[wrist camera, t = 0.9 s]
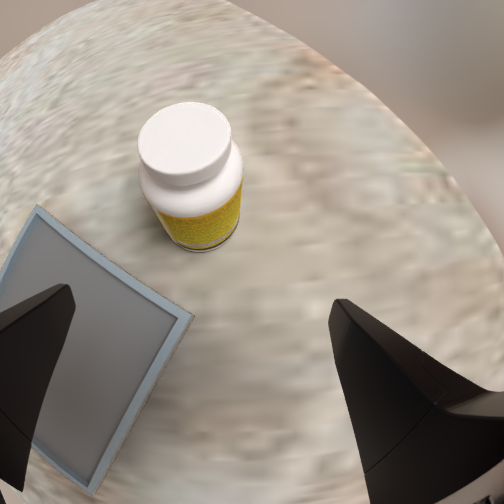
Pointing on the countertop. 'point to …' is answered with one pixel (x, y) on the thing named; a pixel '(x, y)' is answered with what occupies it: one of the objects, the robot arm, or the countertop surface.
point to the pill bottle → (192, 174)
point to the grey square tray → (91, 346)
